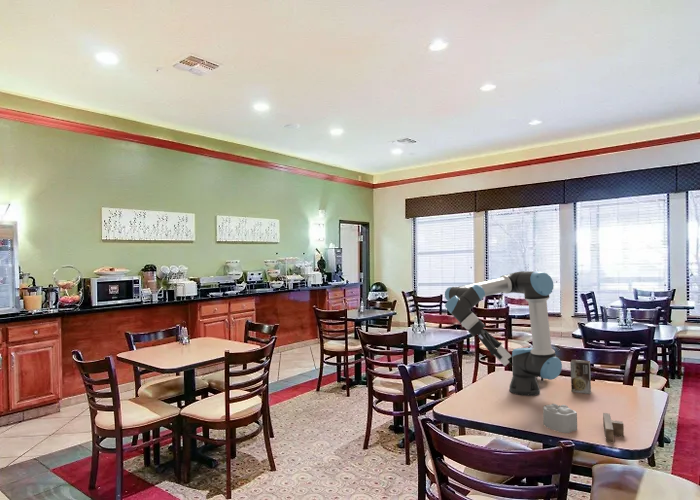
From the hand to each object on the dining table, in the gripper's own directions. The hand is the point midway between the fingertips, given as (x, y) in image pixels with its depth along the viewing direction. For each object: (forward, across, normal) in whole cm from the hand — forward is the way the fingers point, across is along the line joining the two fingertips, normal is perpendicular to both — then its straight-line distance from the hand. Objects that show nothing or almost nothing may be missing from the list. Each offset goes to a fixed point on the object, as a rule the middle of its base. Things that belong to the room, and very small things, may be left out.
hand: (508, 361), depth 198 cm
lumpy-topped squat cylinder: (+32, +1, -4) cm, 32 cm away
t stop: (+46, +2, +11) cm, 47 cm away
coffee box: (+41, -58, +5) cm, 71 cm away
